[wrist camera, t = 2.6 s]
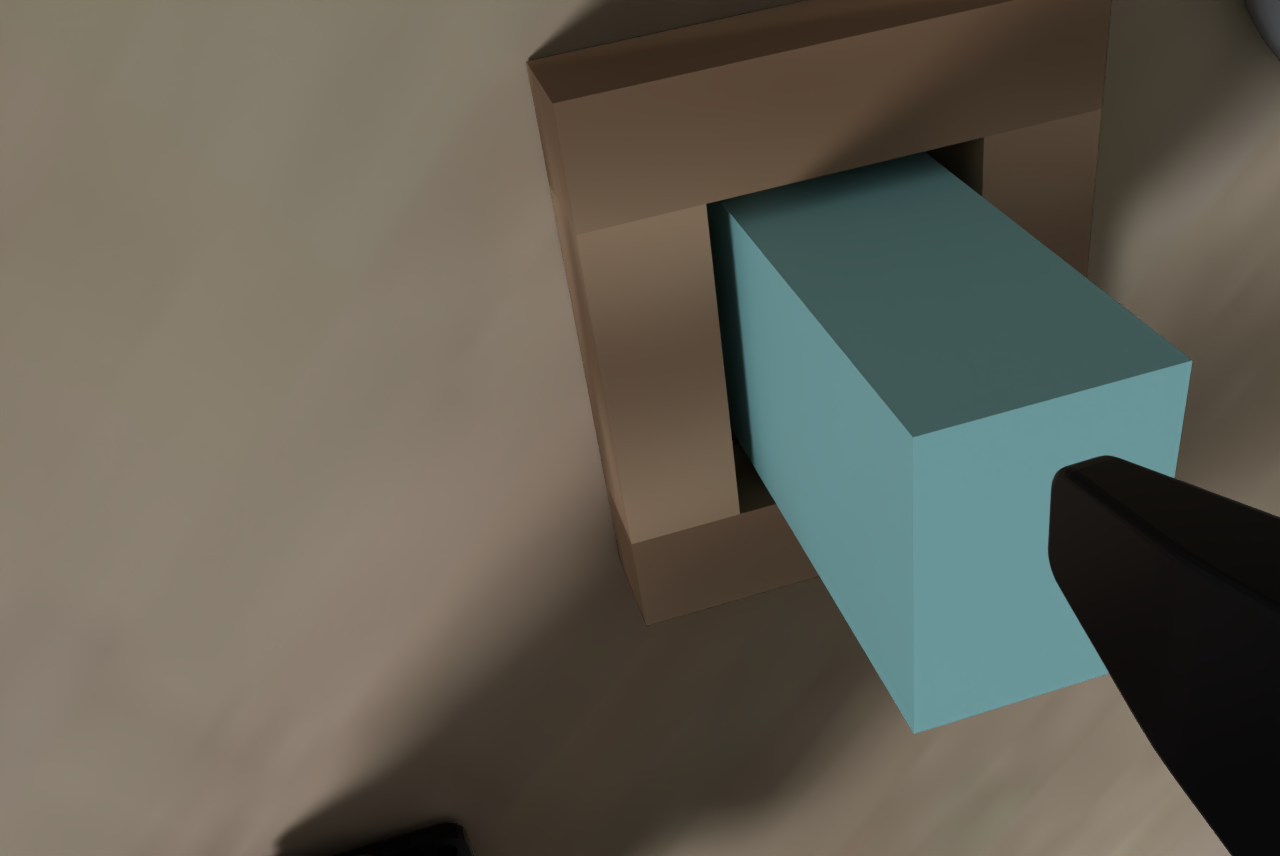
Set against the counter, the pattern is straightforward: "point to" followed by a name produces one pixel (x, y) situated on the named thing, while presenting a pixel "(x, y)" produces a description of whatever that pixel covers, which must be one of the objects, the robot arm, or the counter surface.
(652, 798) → the counter surface
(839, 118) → the brown flat piece
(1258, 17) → the coaster
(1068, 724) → the counter surface
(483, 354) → the counter surface
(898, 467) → the plug
